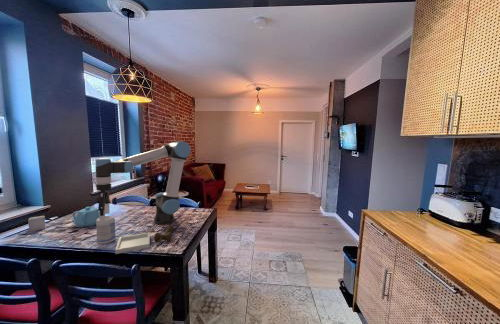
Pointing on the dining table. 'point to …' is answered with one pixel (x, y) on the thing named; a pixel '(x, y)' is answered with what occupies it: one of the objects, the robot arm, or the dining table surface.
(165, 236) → the kendama
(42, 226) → the medicine box
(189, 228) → the dining table surface
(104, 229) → the supplement tub
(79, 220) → the decorative pot
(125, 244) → the sage tray
